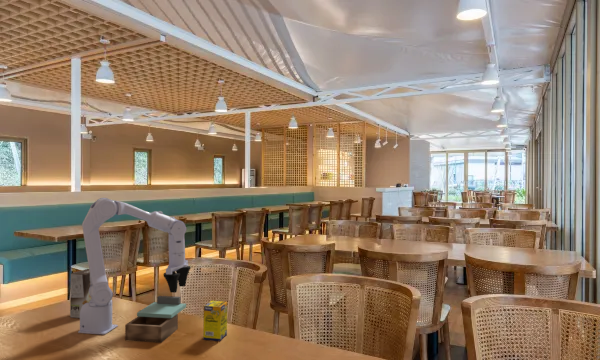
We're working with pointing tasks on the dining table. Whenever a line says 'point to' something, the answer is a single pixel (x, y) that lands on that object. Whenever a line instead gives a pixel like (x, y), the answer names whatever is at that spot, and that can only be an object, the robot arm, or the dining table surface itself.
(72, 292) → the coffee box
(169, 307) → the lid
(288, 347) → the dining table surface
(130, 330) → the crate
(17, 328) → the dining table surface
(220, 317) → the supplement box
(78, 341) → the dining table surface
